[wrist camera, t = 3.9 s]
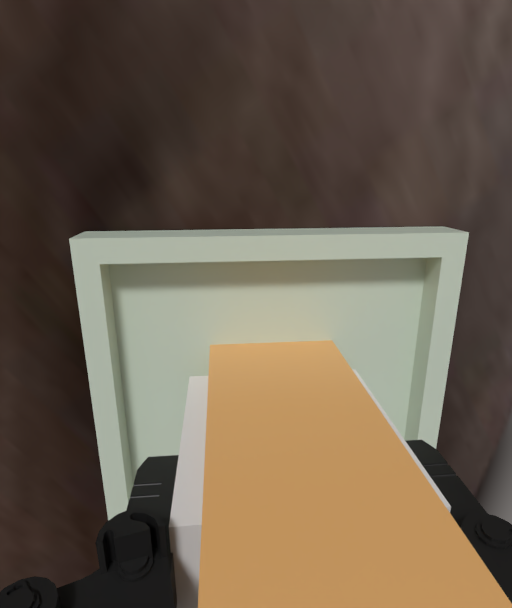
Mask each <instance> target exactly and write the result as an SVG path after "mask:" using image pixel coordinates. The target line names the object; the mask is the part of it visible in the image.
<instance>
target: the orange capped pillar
mask: <svg viewBox="0 0 512 608" xmlns="http://www.w3.org/2000/svg"><path fill="white" fill-rule="evenodd" d="M198 608H512V603H511V602H510V600H509V599H508V597H507V596H506V594H505V593H504V591H503V590H502V589H501V587H500V586H499V584H498V583H497V581H496V580H495V578H494V577H493V575H492V574H491V572H490V571H489V569H488V568H487V567H486V565H485V564H484V562H483V561H482V559H481V558H480V556H479V555H478V553H477V552H476V550H475V549H474V548H473V546H472V545H471V543H470V542H469V540H468V539H467V537H466V536H465V534H464V533H463V531H462V530H461V528H460V527H459V526H458V524H457V523H456V521H455V520H454V518H453V517H452V515H451V514H450V512H449V511H448V509H447V508H446V506H445V505H444V504H443V502H442V501H441V499H440V498H439V496H438V495H437V493H436V492H435V490H434V489H433V487H432V486H431V484H430V483H429V482H428V480H427V479H426V477H425V476H424V474H423V473H422V471H421V470H420V468H419V467H418V465H417V464H416V462H415V461H414V460H413V458H412V457H411V455H410V454H409V452H408V451H407V449H406V448H405V446H404V445H403V443H402V442H401V440H400V439H399V438H398V436H397V435H396V433H395V432H394V430H393V429H392V427H391V426H390V424H389V423H388V421H387V420H386V418H385V417H384V416H383V414H382V413H381V411H380V410H379V408H378V407H377V405H376V404H375V402H374V401H373V399H372V398H371V396H370V395H369V394H368V392H367V391H366V389H365V388H364V386H363V385H362V383H361V382H360V380H359V379H358V377H357V376H356V374H355V373H354V372H353V370H352V369H351V367H350V366H349V364H348V363H347V361H346V360H345V358H344V357H343V355H342V354H341V353H340V351H339V350H338V348H337V347H336V345H335V344H334V342H333V341H332V340H326V341H299V342H272V343H245V344H218V345H210V354H209V376H208V397H207V419H206V441H205V462H204V484H203V505H202V527H201V548H200V570H199V592H198Z"/></svg>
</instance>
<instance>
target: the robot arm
mask: <svg viewBox="0 0 512 608" xmlns="http://www.w3.org/2000/svg"><path fill="white" fill-rule="evenodd" d="M352 370H353V372H354V373H355V374H356V376H357V377H358V379H359V380H360V382H361V383H362V385H363V386H364V388H365V389H366V391H367V392H368V394H369V395H370V396H371V398H372V399H373V401H374V402H375V404H376V405H377V407H378V408H379V410H380V411H381V413H382V414H383V416H384V417H385V418H386V420H387V421H388V423H389V424H390V426H391V427H392V429H393V430H394V432H395V433H396V435H397V436H398V438H399V439H400V440H401V442H402V443H403V445H404V446H405V448H406V449H407V451H408V452H409V454H410V455H411V457H412V458H413V460H414V461H415V462H416V464H417V465H418V467H419V468H420V470H421V471H422V473H423V474H424V476H425V477H426V479H427V480H428V482H429V483H430V484H431V486H432V487H433V489H434V490H435V492H436V493H437V495H438V496H439V498H440V499H441V501H442V502H443V504H444V505H445V506H446V508H447V509H448V511H449V512H450V514H451V515H452V517H453V518H454V520H455V521H456V523H457V524H458V526H459V527H460V528H461V530H462V531H463V533H464V534H465V536H466V537H467V539H468V540H469V542H470V543H471V545H472V546H473V548H474V549H475V550H476V552H477V553H478V555H479V556H480V558H481V559H482V561H483V562H484V564H485V565H486V567H487V568H488V569H489V571H490V572H491V574H492V575H493V577H494V578H495V580H496V581H497V583H498V584H499V586H500V587H501V589H502V590H503V591H504V593H505V594H506V596H507V597H508V599H509V600H510V602H511V603H512V525H511V524H510V523H509V522H507V521H505V520H503V519H501V518H499V517H497V516H493V515H489V514H487V513H486V511H485V510H484V509H483V507H482V506H481V505H480V503H478V501H477V500H476V498H475V497H474V496H473V495H472V493H471V492H470V491H469V490H468V488H467V487H466V486H465V484H464V483H463V482H462V481H461V479H460V478H459V477H458V476H456V473H455V472H454V471H453V469H452V468H451V467H450V466H449V465H448V464H447V462H446V460H445V459H444V458H443V457H442V455H441V454H440V453H439V452H438V450H436V449H435V448H434V447H432V446H431V445H429V444H428V443H426V442H425V441H423V440H407V441H405V440H404V438H403V437H402V436H401V434H400V433H399V431H398V430H397V428H396V427H395V425H394V424H393V423H392V421H391V420H390V418H389V417H388V415H387V414H386V413H385V411H384V410H383V408H382V407H381V405H380V404H379V403H378V401H377V400H376V398H375V397H374V395H373V394H372V393H371V391H370V390H369V388H368V387H367V385H366V384H365V382H364V381H363V380H362V378H361V377H360V375H359V374H358V372H357V371H356V370H355V369H352ZM207 397H208V376H190V377H189V384H188V391H187V399H186V406H185V413H184V420H183V428H182V435H181V442H180V449H179V455H171V456H154V457H147V459H146V460H145V461H144V462H143V463H142V465H141V466H140V467H139V468H138V469H137V473H136V476H135V480H134V484H133V487H132V491H131V495H130V499H129V502H128V506H127V510H126V511H124V512H122V513H119V514H117V515H116V516H114V517H113V518H111V519H110V520H109V521H107V522H106V523H105V525H104V526H103V527H102V529H101V530H100V531H99V534H98V537H97V541H96V547H97V553H98V560H99V566H100V569H98V570H97V571H95V572H94V573H93V574H91V575H89V576H87V577H85V578H83V579H81V580H78V581H75V582H73V583H70V584H67V585H65V586H62V587H59V588H56V586H55V584H54V583H53V582H51V581H50V580H49V579H47V578H43V577H30V578H26V579H22V580H19V581H17V582H15V583H13V584H11V585H9V586H7V587H5V588H4V589H3V590H2V591H1V592H0V608H198V592H199V570H200V548H201V527H202V505H203V484H204V462H205V441H206V419H207Z"/></svg>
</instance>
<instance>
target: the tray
mask: <svg viewBox="0 0 512 608" xmlns="http://www.w3.org/2000/svg"><path fill="white" fill-rule="evenodd" d="M468 236H469V232H465V231H460V230H456V229H452V228H448V227H444V226H441V227H370V228H299V229H228V230H157V231H86V232H83V233H81V234H79V235H76V236H74V237H72V238H70V239H69V242H70V249H71V256H72V263H73V270H74V277H75V285H76V292H77V299H78V306H79V313H80V320H81V328H82V335H83V342H84V349H85V356H86V363H87V371H88V378H89V385H90V392H91V399H92V406H93V414H94V421H95V428H96V435H97V442H98V449H99V457H100V464H101V471H102V478H103V485H104V492H105V500H106V507H107V514H108V521H109V520H110V519H111V518H113V517H114V516H116V515H117V514H119V513H122V512H124V511H126V510H127V506H128V502H129V499H130V495H131V491H132V487H133V484H134V480H135V476H136V473H137V469H138V468H139V467H140V466H141V465H142V463H143V462H144V461H145V460H146V459H147V457H154V456H171V455H179V449H180V442H181V435H182V428H183V420H184V413H185V406H186V399H187V391H188V384H189V377H190V376H209V354H210V345H218V344H245V343H272V342H299V341H326V340H332V341H333V342H334V344H335V345H336V347H337V348H338V350H339V351H340V353H341V354H342V355H343V357H344V358H345V360H346V361H347V363H348V364H349V366H350V367H351V369H355V370H356V371H357V372H358V374H359V375H360V377H361V378H362V380H363V381H364V382H365V384H366V385H367V387H368V388H369V390H370V391H371V393H372V394H373V395H374V397H375V398H376V400H377V401H378V403H379V404H380V405H381V407H382V408H383V410H384V411H385V413H386V414H387V415H388V417H389V418H390V420H391V421H392V423H393V424H394V425H395V427H396V428H397V430H398V431H399V433H400V434H401V436H402V437H403V438H404V440H405V441H407V440H423V441H425V442H426V443H428V444H429V445H431V446H432V447H434V448H435V449H436V445H437V439H438V432H439V426H440V419H441V413H442V406H443V399H444V393H445V386H446V380H447V373H448V367H449V360H450V354H451V347H452V340H453V334H454V327H455V321H456V314H457V308H458V301H459V295H460V288H461V282H462V275H463V268H464V262H465V255H466V249H467V242H468Z"/></svg>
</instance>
